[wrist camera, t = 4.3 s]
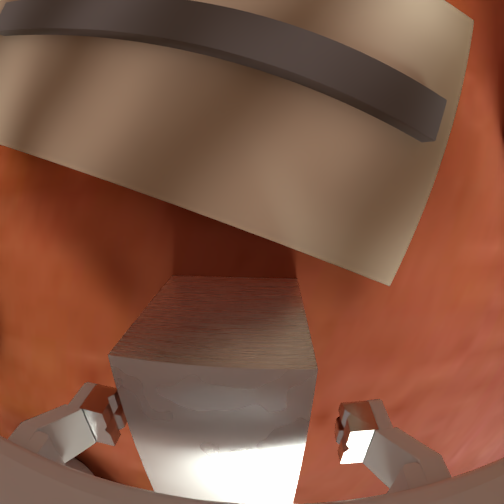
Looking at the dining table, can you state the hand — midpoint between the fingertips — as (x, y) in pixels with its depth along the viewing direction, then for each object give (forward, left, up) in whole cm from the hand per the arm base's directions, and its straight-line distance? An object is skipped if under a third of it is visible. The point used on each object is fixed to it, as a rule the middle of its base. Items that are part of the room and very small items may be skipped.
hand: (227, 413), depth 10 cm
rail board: (-11, +12, -3) cm, 17 cm away
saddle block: (0, 0, -3) cm, 3 cm away
